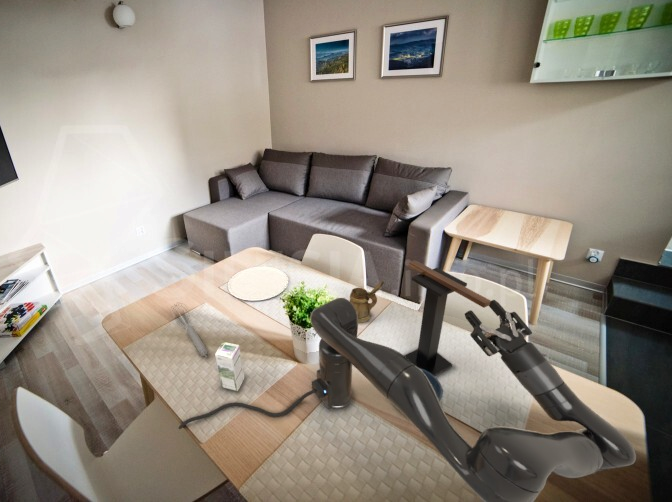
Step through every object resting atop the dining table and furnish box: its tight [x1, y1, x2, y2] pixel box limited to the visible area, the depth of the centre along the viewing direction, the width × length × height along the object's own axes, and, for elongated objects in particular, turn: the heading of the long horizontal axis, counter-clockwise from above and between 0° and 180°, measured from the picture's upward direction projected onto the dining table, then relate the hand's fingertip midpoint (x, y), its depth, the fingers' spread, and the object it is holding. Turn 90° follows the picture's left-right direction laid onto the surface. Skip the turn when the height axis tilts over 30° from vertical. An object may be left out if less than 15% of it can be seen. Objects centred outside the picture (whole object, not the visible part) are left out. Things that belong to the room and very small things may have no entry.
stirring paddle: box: [407, 259, 492, 309], centre depth 90 cm, size 4×24×1 cm, turn 25°
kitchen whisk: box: [170, 301, 208, 357], centre depth 126 cm, size 6×34×6 cm, turn 32°
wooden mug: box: [349, 281, 385, 323], centre depth 124 cm, size 9×14×18 cm, turn 58°
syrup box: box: [214, 341, 245, 392], centre depth 101 cm, size 6×6×14 cm
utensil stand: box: [403, 267, 468, 377], centre depth 99 cm, size 12×10×32 cm
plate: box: [227, 265, 289, 302], centre depth 155 cm, size 29×29×1 cm
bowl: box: [419, 368, 444, 405], centre depth 93 cm, size 13×13×6 cm
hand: (479, 306), depth 82 cm, fingers open, 8 cm apart
